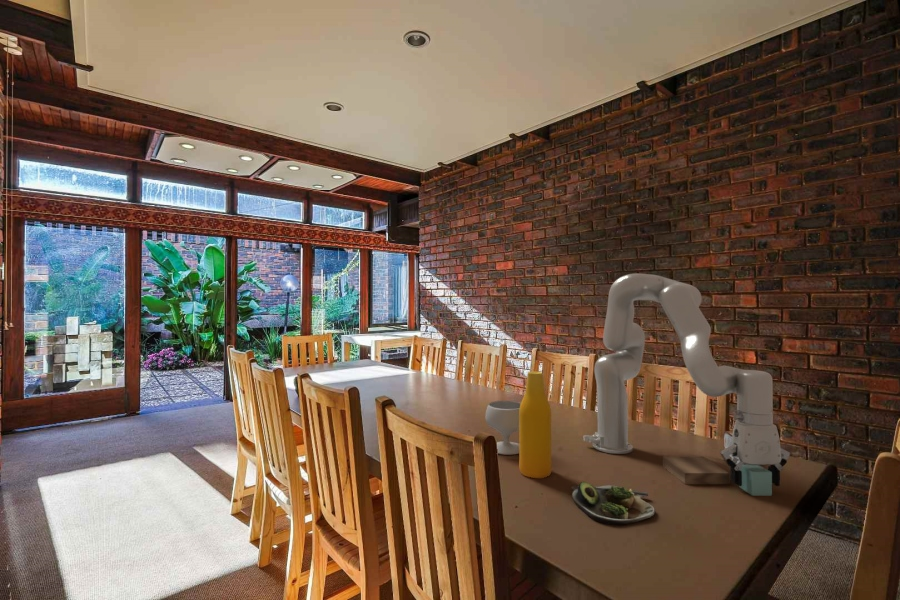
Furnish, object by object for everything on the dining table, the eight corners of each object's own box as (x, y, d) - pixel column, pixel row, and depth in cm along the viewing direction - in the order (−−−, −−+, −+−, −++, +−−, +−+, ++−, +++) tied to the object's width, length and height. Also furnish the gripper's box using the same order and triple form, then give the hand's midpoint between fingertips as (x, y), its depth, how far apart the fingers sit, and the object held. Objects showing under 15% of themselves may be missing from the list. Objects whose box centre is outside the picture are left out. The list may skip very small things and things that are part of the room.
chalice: (536, 451, 139) (536, 405, 139) (504, 460, 131) (504, 412, 131) (507, 439, 151) (507, 397, 151) (477, 447, 143) (476, 403, 143)
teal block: (752, 495, 107) (752, 472, 107) (738, 486, 112) (738, 464, 112) (771, 495, 107) (771, 472, 107) (757, 487, 112) (757, 464, 112)
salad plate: (627, 486, 113) (627, 469, 113) (676, 520, 96) (676, 499, 96) (561, 494, 109) (561, 476, 109) (601, 531, 92) (600, 509, 92)
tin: (756, 472, 122) (755, 442, 122) (743, 471, 122) (743, 442, 122) (732, 453, 136) (732, 427, 136) (721, 452, 137) (721, 427, 137)
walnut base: (685, 484, 114) (685, 473, 114) (662, 466, 126) (662, 456, 126) (729, 484, 114) (729, 473, 114) (703, 466, 125) (703, 456, 126)
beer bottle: (516, 476, 119) (515, 374, 119) (522, 464, 128) (521, 369, 128) (549, 481, 116) (549, 376, 116) (553, 468, 125) (552, 370, 125)
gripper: (730, 422, 106) (731, 490, 106) (799, 422, 106) (800, 490, 106) (712, 414, 113) (712, 477, 113) (776, 414, 113) (777, 477, 113)
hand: (755, 483), depth 109 cm, fingers open, 9 cm apart
